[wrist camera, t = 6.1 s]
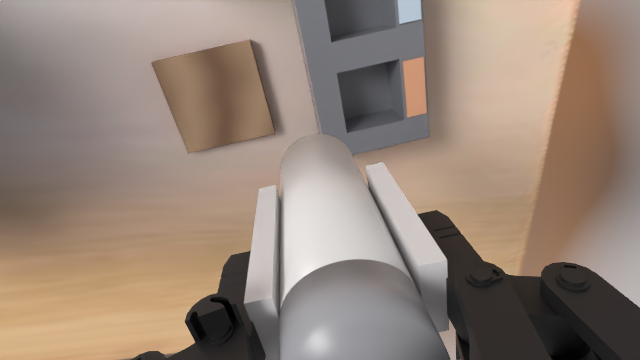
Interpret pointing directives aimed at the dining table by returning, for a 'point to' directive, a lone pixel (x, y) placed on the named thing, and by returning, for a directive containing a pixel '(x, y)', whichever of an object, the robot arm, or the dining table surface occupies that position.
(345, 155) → the plug
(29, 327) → the dining table surface
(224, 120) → the coaster
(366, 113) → the socket box
